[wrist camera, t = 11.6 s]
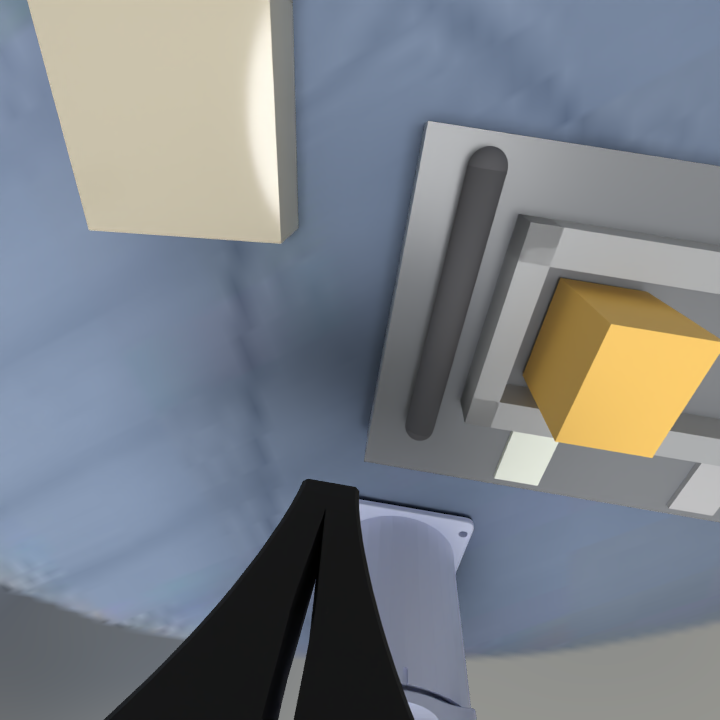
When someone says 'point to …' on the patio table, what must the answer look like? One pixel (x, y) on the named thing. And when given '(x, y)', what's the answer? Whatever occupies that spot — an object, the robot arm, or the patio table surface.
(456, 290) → the cable on side
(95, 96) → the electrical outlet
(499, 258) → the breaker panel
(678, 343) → the block
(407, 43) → the patio table surface
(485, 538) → the patio table surface
